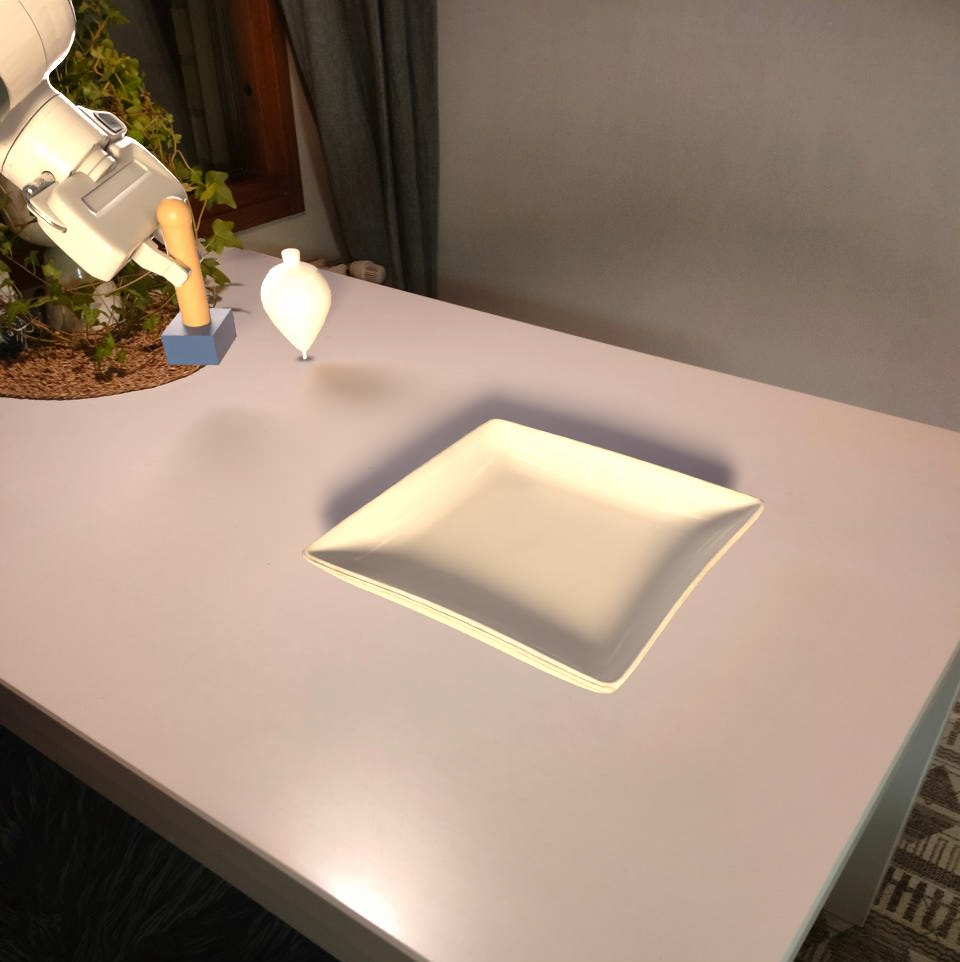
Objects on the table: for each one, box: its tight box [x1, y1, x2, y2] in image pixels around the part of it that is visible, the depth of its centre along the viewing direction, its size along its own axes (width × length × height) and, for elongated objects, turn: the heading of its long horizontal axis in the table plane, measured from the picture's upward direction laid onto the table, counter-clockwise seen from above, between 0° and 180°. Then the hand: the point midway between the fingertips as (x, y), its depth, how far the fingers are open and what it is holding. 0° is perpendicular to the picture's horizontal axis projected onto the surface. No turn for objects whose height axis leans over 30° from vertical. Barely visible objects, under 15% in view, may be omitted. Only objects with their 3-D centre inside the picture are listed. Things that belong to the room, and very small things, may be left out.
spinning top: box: [260, 247, 333, 360], centre depth 101 cm, size 8×8×12 cm
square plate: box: [301, 417, 766, 694], centre depth 73 cm, size 27×27×4 cm
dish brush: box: [156, 197, 238, 366], centre depth 89 cm, size 5×7×15 cm
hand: (192, 272), depth 89 cm, fingers closed on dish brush, 3 cm apart
